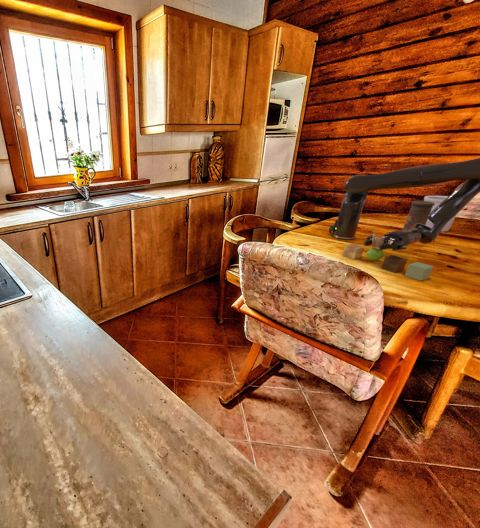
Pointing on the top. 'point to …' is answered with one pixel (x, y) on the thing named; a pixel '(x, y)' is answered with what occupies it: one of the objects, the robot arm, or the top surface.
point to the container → (418, 213)
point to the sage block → (419, 271)
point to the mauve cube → (353, 251)
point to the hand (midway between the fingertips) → (373, 245)
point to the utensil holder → (437, 201)
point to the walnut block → (394, 263)
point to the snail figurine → (375, 248)
